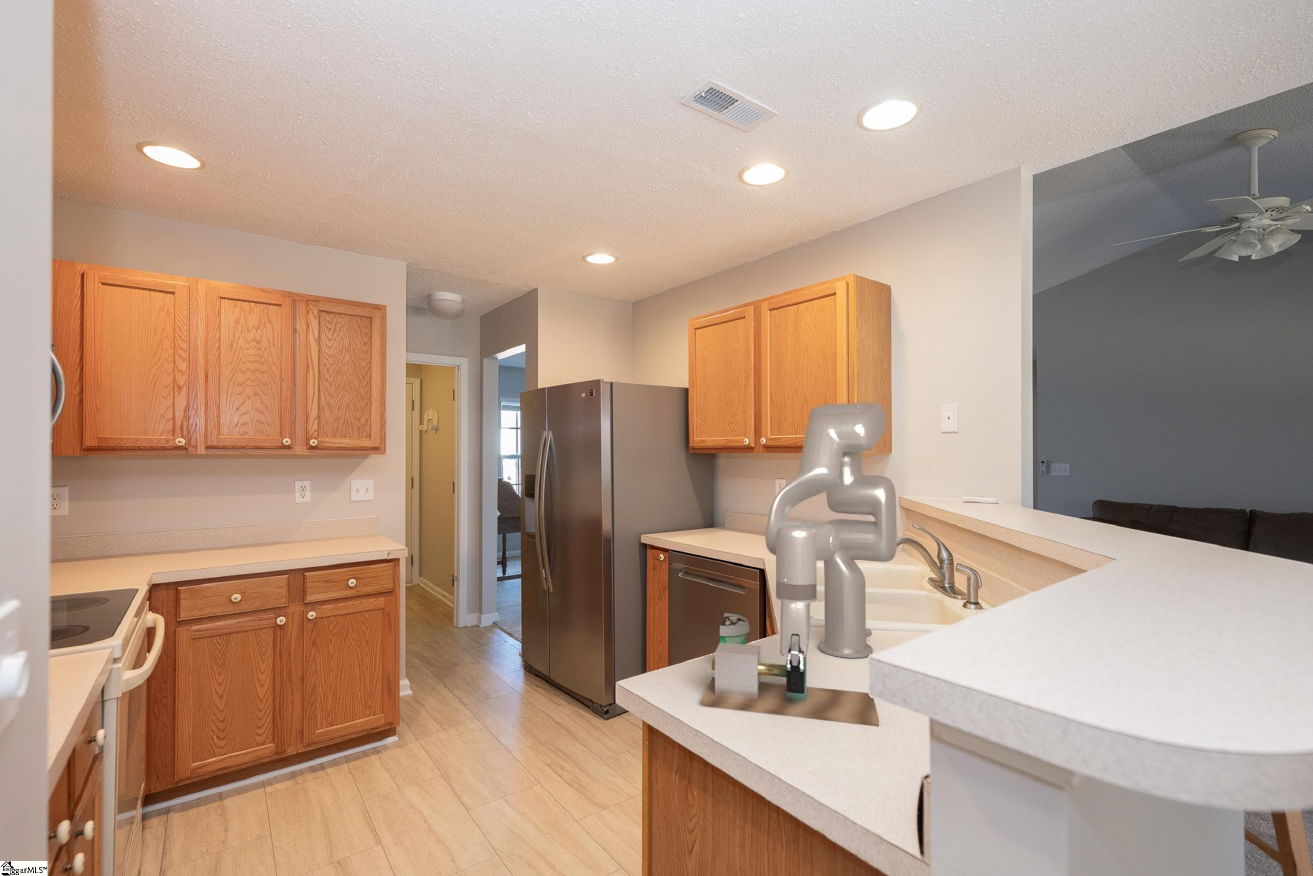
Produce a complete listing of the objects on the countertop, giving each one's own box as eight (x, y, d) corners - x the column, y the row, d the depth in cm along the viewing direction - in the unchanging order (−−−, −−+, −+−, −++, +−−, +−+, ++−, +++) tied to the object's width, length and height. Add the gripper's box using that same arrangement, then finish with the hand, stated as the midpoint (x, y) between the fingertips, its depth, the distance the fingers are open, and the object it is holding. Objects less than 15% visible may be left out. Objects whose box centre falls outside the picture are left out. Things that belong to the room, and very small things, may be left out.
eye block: (714, 694, 112) (715, 651, 113) (719, 683, 118) (720, 642, 118) (757, 699, 110) (757, 655, 111) (760, 687, 116) (760, 646, 116)
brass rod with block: (710, 691, 114) (711, 653, 114) (713, 684, 117) (714, 648, 117) (806, 701, 109) (806, 662, 109) (806, 694, 113) (806, 656, 113)
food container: (748, 675, 126) (748, 628, 126) (719, 673, 127) (719, 626, 127) (750, 657, 138) (751, 614, 138) (724, 655, 139) (724, 612, 140)
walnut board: (701, 705, 110) (701, 699, 110) (712, 682, 121) (712, 677, 122) (879, 726, 102) (878, 719, 102) (872, 699, 113) (872, 693, 114)
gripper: (778, 581, 122) (778, 666, 121) (772, 600, 105) (772, 698, 104) (816, 583, 120) (816, 669, 119) (816, 602, 103) (817, 703, 102)
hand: (796, 683), depth 111 cm, fingers open, 9 cm apart
